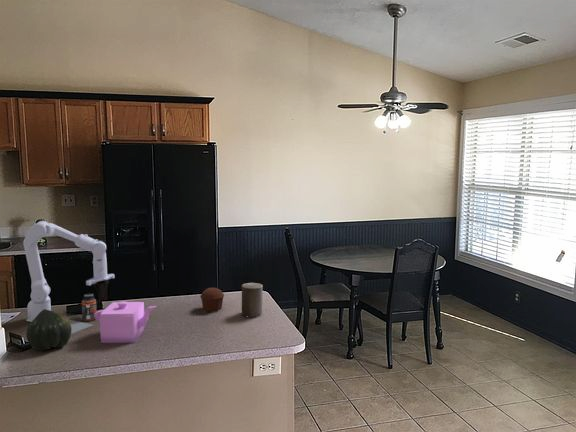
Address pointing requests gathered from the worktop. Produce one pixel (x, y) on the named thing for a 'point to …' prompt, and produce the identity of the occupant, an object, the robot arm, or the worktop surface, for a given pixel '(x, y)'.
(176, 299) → the worktop surface
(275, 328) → the worktop surface
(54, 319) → the squash
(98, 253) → the robot arm
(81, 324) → the mat
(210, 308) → the muffin
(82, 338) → the worktop surface
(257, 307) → the grey lidded canister
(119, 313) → the teapot
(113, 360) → the worktop surface
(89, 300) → the supplement bottle
